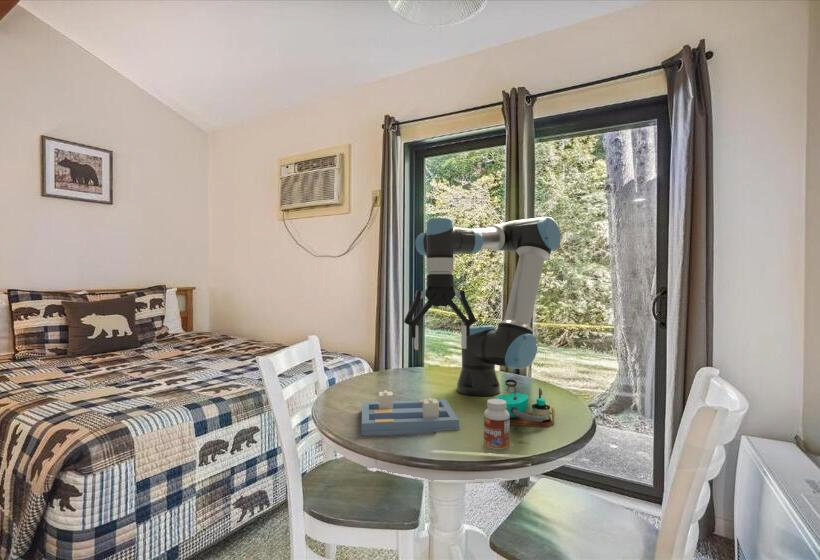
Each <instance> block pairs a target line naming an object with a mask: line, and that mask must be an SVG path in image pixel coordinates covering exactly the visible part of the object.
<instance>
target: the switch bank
mask: <svg viewBox="0 0 820 560" xmlns="http://www.w3.org/2000/svg"><path fill="white" fill-rule="evenodd" d="M437 401H438V402H439V418H423V402H422V399H416V400H415V399H414V400H393V409H379V401H362V403H361V436H362V435H379V436H395V435H396V436H398V435H419V434H420V435H421V434H422V435H423V434H436V433H437V432H438V431H440V432H442V431H458V430H461V429H460V418H459V417H458V415H457V414H456V412H455V411H454V409H453V408H452V406H451V405H450V404H449V402H448V400H447V399H445V398H444V399H437ZM392 434H393V435H392Z"/></svg>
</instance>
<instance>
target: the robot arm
mask: <svg viewBox="0 0 820 560" xmlns="http://www.w3.org/2000/svg"><path fill="white" fill-rule="evenodd" d="M454 224H455V223H454V220H453V219H452V218H451V217H432V218H429V219H428V221H427V223H426V231H425V232H422V233H420V234H418V235H417V237H416V238H415V241H414V242H415V249H416V251H417V253H419V254H420V255H421V256H426V272H427V273H428V274H427V275H426V290H425V291H420V290H416V291H415V295H414V300H413V301H412V304H411V306H410V307H409V310H408V312H407V314H406V316H405V318H404V321H403V322H404V323H405V324H406V325H409V326H410V338H412V339H413V338H414V345H413V346H414V347H413V348H414V350H415V351H419V326H418V325H417V324H418V323H419V322H420V321H421V319H422V318H423V317H424V316H425V314H426V313H427V312H428V311H429V310H430V309H431V308H432V307H436V308H437V307H445V308H446V307H447V306H449V308H451V309H452V311H453V313H455V315H456V316H457V317H458V318H459V319H460V320H461V321H462V323H463V324H461V327H460V328H461V329H460V331H461V332H460V333H461V334H460V336H461V340H460V341H461V342H460V343H461V371H460V374H459V377H458V379H457V383H456V391H457V392H458V393H460V394H463V395H467V396H473V397H490V396H495V395H497V394H499V393H500V392H501V384H500V382H499V379H498V375H497V372H496V366H501V367H506V368H509V369H512V370H513V369H515V370H516V369H517V370H524V369H526V368H528V367H529V366H530V365H532V363H533V362H534V360H535V358H536V355H537V353H538V345H537V344H538V341H537V338H536V337H535V336H534V335H533V334H534V331H533V329H532V327H531V322H532V317H533V313H534V308H535V304H536V299H537V295H538V291H539V286H540V282H541V277H542V274H543V267H544V264H545V261H547V260H549V259H550V258H551V254H552V251H556V250H557V249H558V248H559V247H560V245H561V240H562V239H561V238H562V236H561V230H560V228H559V225H558V223H557V222H556V220H555V219H553V218H552V217H551V216H545V217H544V216H543V217H542V216H539V217H535V218H526V219H515V220H510V221H507V222H502V223H499V224H498V223H497V224H491V225H489V226H488V227H484V228H481V227H480V228H471V227H470V228H468V227H455V225H454ZM481 250H482V251H483V250H489V251H492V252H497V251H502V252H503V251H505V252H516V253H517V255H518V256H519V257H518V260H517V265H516V269H515V272H514V273H515V274H514V279H513V281H512V286H511V290H510V294H509V298H508V303H507V307H506V311H505V315H504V319H503V320H502V321H500V322H498V324H497V328H496V327H495V326H496V325H490V324H489V325H479V326H478V325H477V326H471V325H472V324H475V323H477V319H476V316H475V314H474V313H473V310H472V309H471V307H470V304H469V302H468V300H467V298H466V292H465V290H463V289H461V290H460V289H459V290H457V291H456V290H455V289H454V284H455V283H454V280H455V279H454V275H453V272H454V255H460V254H462V255H463V254H464V255H465V254H466V255H471V254H472V255H473V254H476V253H479V252H480V251H481ZM455 296H456V299H457V298H458V299H459V301H460V304H461V305H462V307H463V309H464V311H465V314H466V315H467V317H468V318H467V317H466V316H465V314H464V313H463V312H462V311H461V309H460V308H459V307H458V306H457V305H456V303H455V302H454V301H453V299H455ZM424 297H425V298H426V299H427V302H425V304H424V305H423V307H422V308H421V309H420V310H419V312H418V313H417V314H416V315H415V317H414V318H413V316H414V314H415V312H416V310H417V307H418V306H419V303H420V301H421V299H423V298H424ZM412 318H413V319H412Z"/></svg>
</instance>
